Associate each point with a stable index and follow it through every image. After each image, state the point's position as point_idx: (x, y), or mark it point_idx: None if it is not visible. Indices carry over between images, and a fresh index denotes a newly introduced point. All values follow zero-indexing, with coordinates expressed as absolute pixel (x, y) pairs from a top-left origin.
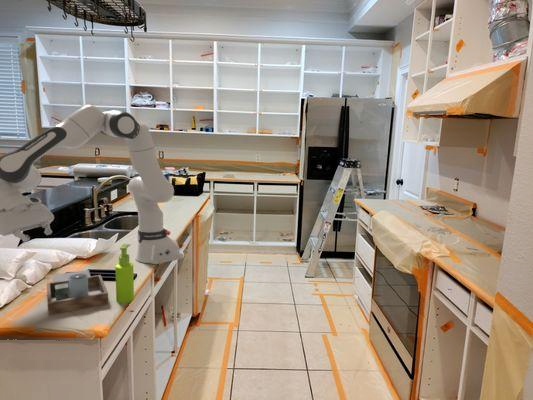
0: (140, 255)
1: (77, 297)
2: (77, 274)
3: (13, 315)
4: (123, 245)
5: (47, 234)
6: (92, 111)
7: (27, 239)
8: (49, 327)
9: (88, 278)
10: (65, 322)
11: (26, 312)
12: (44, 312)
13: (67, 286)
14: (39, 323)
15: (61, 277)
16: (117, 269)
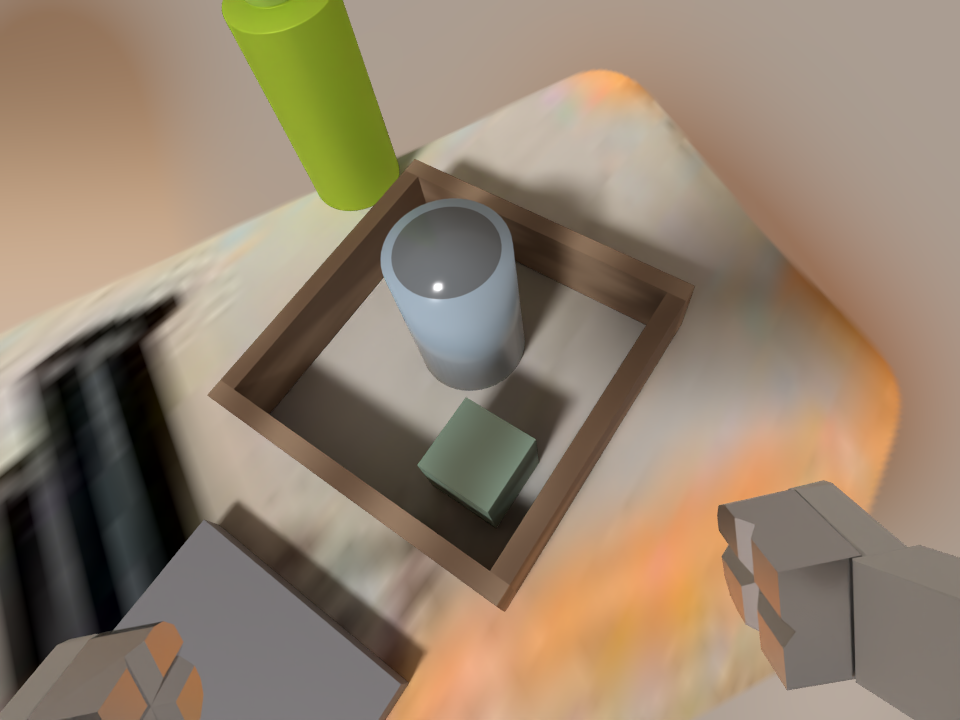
0: None
1: (542, 227)
2: (422, 281)
3: None
4: None
5: (193, 679)
6: None
7: (793, 488)
8: (744, 216)
9: (283, 425)
10: (669, 202)
11: (746, 453)
12: (677, 368)
13: (458, 414)
14: (757, 282)
15: None
16: (338, 1)
